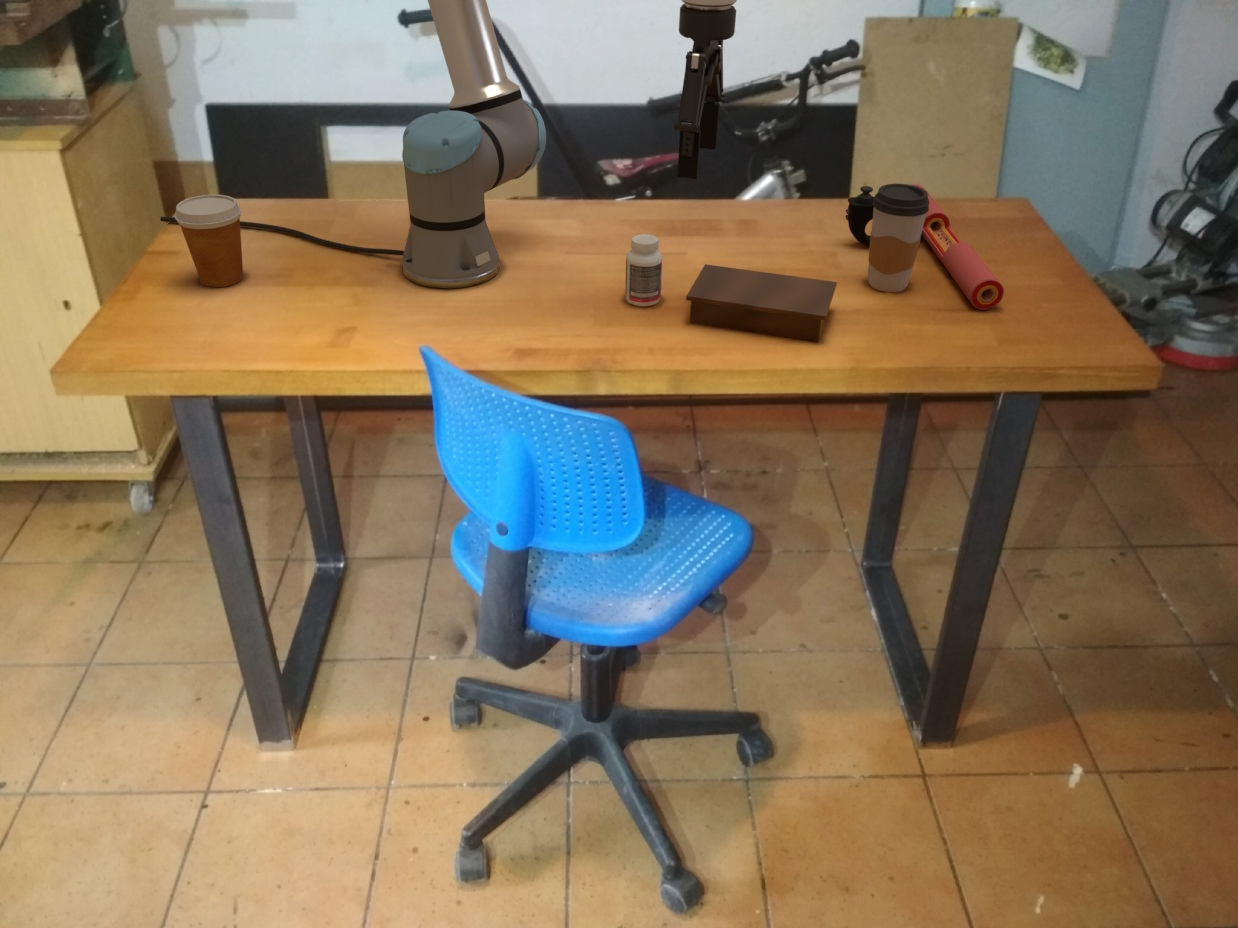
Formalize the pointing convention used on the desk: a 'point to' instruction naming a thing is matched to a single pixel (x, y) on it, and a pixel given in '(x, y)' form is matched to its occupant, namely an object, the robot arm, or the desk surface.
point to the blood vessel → (961, 259)
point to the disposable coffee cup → (213, 237)
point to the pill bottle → (643, 271)
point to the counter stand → (760, 302)
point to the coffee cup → (895, 235)
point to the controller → (860, 214)
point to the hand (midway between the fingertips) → (697, 162)
